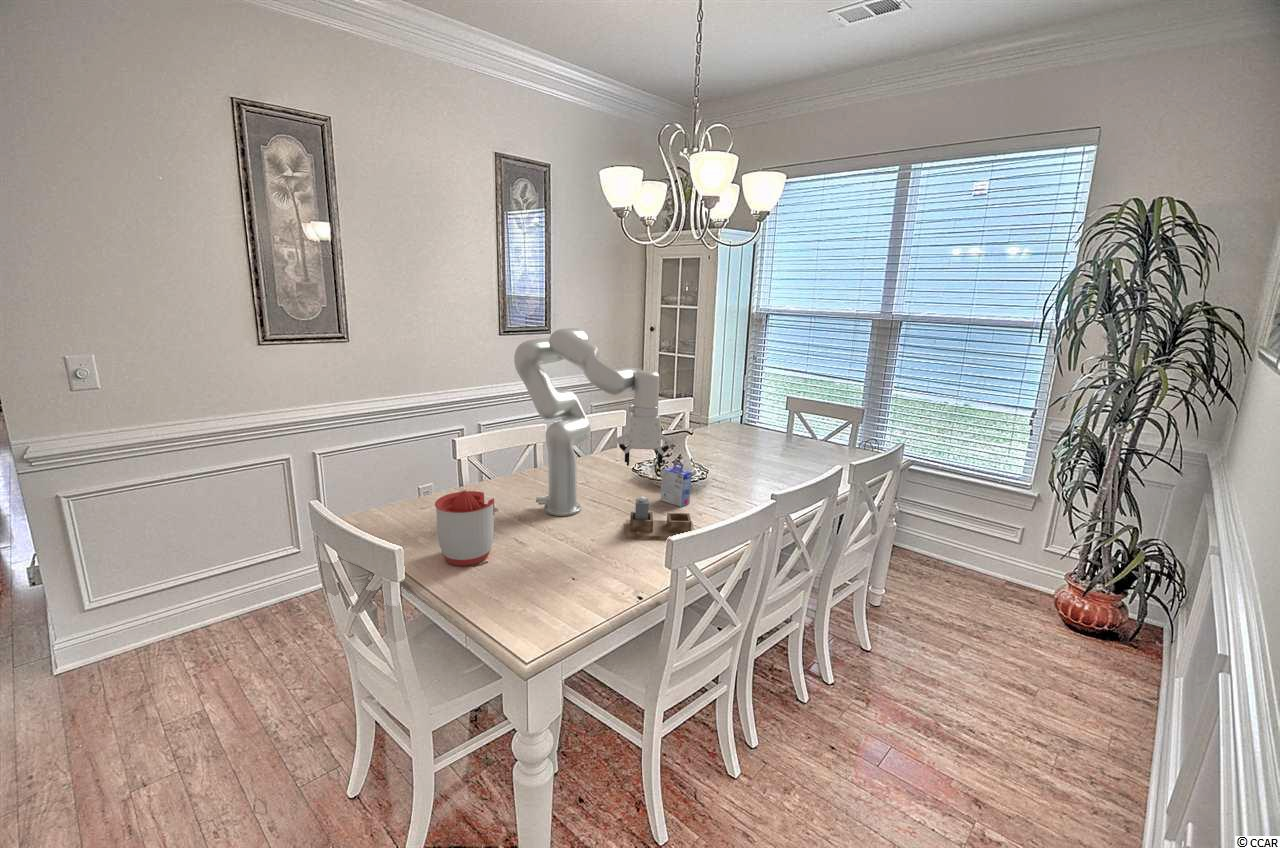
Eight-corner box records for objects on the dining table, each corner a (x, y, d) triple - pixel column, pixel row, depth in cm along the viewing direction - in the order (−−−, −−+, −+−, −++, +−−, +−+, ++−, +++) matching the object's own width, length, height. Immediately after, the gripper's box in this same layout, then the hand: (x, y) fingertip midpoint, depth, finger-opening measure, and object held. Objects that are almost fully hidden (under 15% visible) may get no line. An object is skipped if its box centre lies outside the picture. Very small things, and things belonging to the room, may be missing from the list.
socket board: (625, 538, 174) (625, 523, 172) (625, 522, 185) (626, 508, 184) (696, 540, 174) (697, 525, 173) (691, 524, 186) (692, 510, 185)
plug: (635, 529, 177) (636, 499, 175) (634, 524, 181) (636, 495, 179) (647, 530, 177) (648, 500, 175) (647, 525, 181) (648, 495, 179)
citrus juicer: (511, 557, 159) (510, 490, 155) (453, 576, 148) (450, 505, 143) (484, 538, 170) (482, 476, 166) (428, 555, 159) (424, 488, 154)
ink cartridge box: (690, 503, 204) (692, 465, 201) (681, 507, 200) (684, 469, 197) (668, 496, 210) (670, 459, 207) (659, 500, 206) (661, 463, 203)
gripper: (616, 413, 167) (615, 468, 171) (674, 415, 167) (671, 469, 171) (617, 408, 174) (615, 460, 178) (673, 410, 174) (670, 462, 178)
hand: (643, 465), depth 175 cm, fingers open, 9 cm apart
